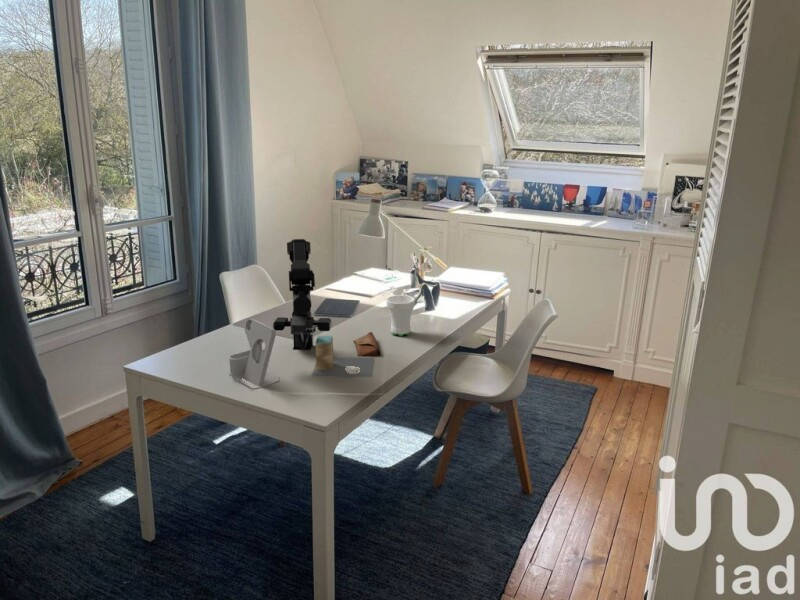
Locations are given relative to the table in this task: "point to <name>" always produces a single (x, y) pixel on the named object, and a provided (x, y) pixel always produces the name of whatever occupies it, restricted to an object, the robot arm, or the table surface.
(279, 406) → the table surface
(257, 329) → the phone holder
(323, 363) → the oak block
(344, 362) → the rubber mat
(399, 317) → the cup
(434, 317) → the table surface
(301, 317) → the robot arm
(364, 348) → the sunglasses case
